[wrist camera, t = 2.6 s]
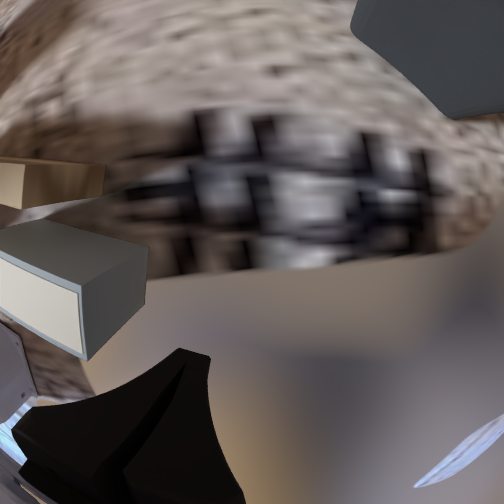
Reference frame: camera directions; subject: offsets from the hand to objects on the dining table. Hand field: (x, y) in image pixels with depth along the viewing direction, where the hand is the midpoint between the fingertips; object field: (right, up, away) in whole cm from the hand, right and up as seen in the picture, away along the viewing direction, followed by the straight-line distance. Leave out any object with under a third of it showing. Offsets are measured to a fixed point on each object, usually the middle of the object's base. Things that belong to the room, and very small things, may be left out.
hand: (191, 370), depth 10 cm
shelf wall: (-16, +11, +5) cm, 20 cm away
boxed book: (-9, +4, +7) cm, 12 cm away
